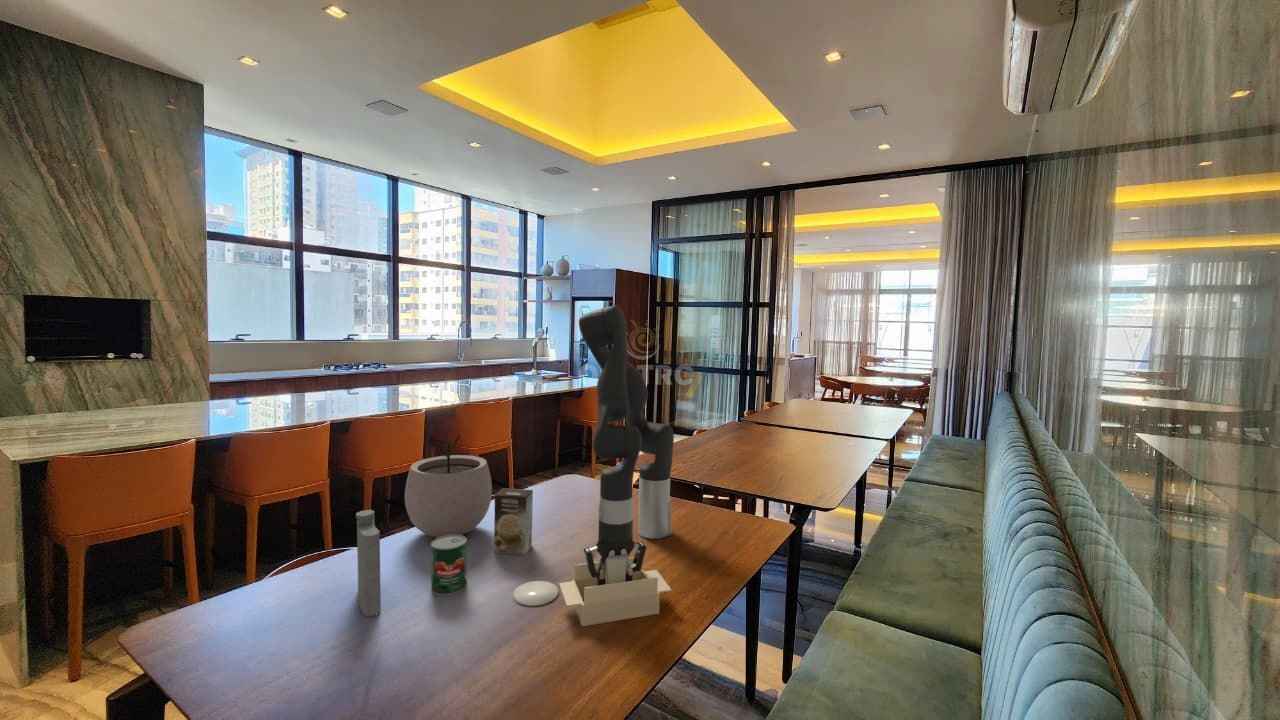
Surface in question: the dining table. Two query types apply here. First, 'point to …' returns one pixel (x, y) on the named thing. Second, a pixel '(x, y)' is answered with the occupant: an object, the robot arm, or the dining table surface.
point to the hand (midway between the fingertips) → (614, 591)
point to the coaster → (535, 593)
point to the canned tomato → (448, 564)
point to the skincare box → (615, 569)
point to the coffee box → (513, 521)
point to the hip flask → (368, 563)
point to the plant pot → (448, 493)
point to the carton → (613, 595)
